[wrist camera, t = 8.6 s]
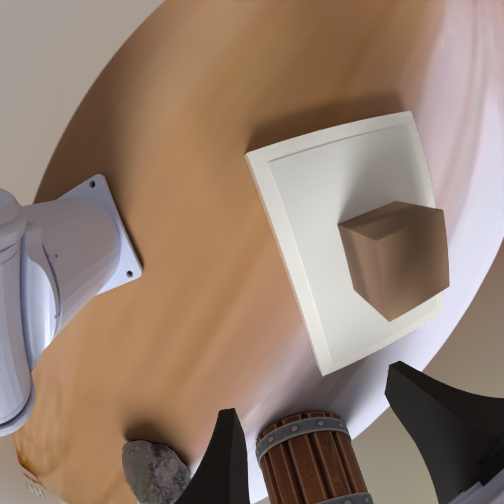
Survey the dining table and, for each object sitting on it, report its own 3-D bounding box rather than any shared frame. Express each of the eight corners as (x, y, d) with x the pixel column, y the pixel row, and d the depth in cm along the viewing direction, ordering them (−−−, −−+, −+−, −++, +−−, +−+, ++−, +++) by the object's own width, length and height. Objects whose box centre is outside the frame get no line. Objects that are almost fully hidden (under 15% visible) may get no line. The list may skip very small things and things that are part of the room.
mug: (266, 407, 23) (296, 544, 9) (357, 404, 25) (414, 507, 10) (239, 475, 27) (249, 565, 12) (311, 472, 28) (337, 551, 14)
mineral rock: (182, 488, 28) (181, 540, 18) (114, 466, 25) (102, 518, 16) (215, 456, 25) (218, 524, 16) (128, 428, 23) (110, 499, 13)
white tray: (316, 362, 22) (323, 377, 20) (244, 155, 17) (246, 152, 15) (431, 303, 22) (443, 312, 20) (396, 114, 17) (411, 110, 15)
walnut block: (353, 289, 18) (389, 322, 14) (337, 224, 17) (376, 241, 12) (407, 263, 18) (449, 286, 14) (396, 200, 17) (443, 209, 12)
